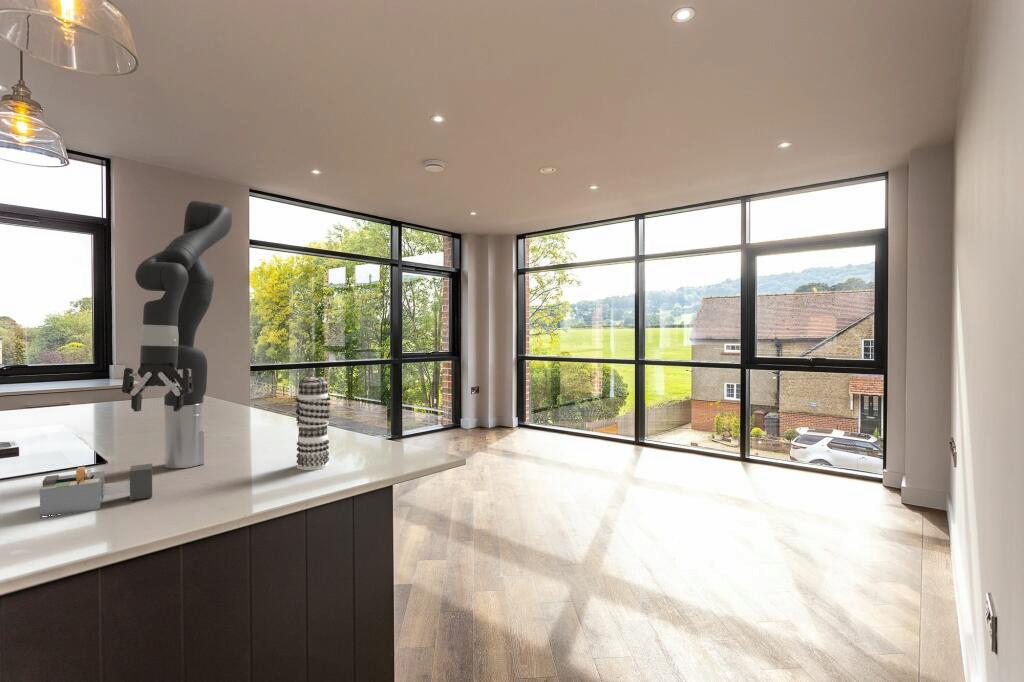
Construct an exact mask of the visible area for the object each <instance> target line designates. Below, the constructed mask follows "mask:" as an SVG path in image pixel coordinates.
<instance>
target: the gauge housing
mask: <svg viewBox="0 0 1024 682" xmlns="http://www.w3.org/2000/svg"><path fill="white" fill-rule="evenodd" d="M105 482H106V481H105V470H102V471H93V472H92V471H91V479H89V480H87V472H85V480H81V481H80V480H79V481H76V473H75V474H68V475H59V474H55V475H48V476H45V477H44V478H43V480H42V486H41V487H40V488H39V518H40V517H42V516H49V515H50V516H51V515H58V514H65V515H69V514H68V513H72V514H75V513H74V512H79V513H81V512H80V511H85V512H88V511H87V510H92V511H97V509H99V510H101V508H102V505H103V503H102V502H104V500H105V497H106V495H103V496H101V485H102V484H106V483H105ZM104 496H105V497H104ZM103 499H104V500H103Z"/></svg>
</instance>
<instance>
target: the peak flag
mask: <svg viewBox="0 0 1024 682" xmlns="http://www.w3.org/2000/svg"><path fill="white" fill-rule="evenodd" d="M85 473H86V466H78V467H77V469H76V473H75V474H76V481H79V480H80V481H81V480H85Z"/></svg>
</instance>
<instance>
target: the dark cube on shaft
mask: <svg viewBox="0 0 1024 682" xmlns="http://www.w3.org/2000/svg"><path fill="white" fill-rule="evenodd" d="M91 472H92V467H88V468H87V469H86V473H87V480H89V479H91ZM123 493H129V501H134V500H139V499H140V500H142V499H148V498H152V497H153V463H146V464H138V465H130V469H129V480H127V481H126V480H125V481H118V482H116V481H115V482H109V483H105V484H102V485H101V496H103V495H105V496H109V495H117V494H123Z"/></svg>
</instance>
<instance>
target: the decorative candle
mask: <svg viewBox="0 0 1024 682" xmlns="http://www.w3.org/2000/svg"><path fill="white" fill-rule="evenodd" d="M328 384H329V382H328V381H326V379H325V378H324V377H323V376H306V377H302V378H301V379H300V380H299V382H297V385H298V394H297V397H295V398H294V401H296V404H295V409H296V411H295V414H296V415H297V416H296V419H295V420H296V426H297V427H298V435H297V442H296V446H297V447H296V451H297V452H298V453H297V454H296V458H297V459H296V463H297V465H296V468H297V470H302V471H315V470H320V469H325V468H328V466H329V464H330V463H329V460H330V457H329V456H330V452H329V448H330V446H329V444H330V440H329V438H328V436H329V435H328V425H329V424H330V423H329V421H328V419H329V418H331V417H330V415H329V413H330V411H331V410H329V409H328V408H327V407H329V406H331V402H329V401H330V400H331V397H329V395H328V394H329V393H328Z"/></svg>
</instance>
